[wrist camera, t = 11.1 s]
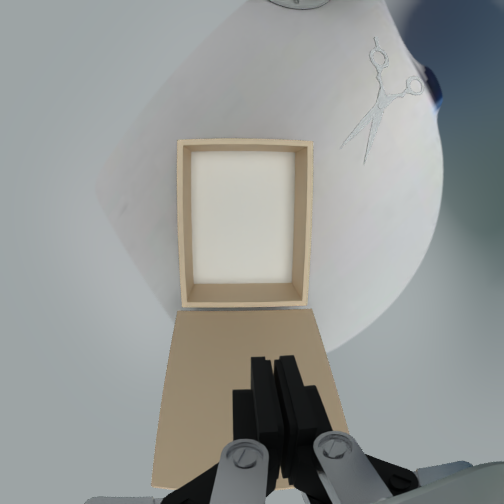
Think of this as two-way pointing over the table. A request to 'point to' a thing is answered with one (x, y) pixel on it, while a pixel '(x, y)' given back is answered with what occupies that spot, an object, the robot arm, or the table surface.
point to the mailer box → (244, 221)
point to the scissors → (380, 99)
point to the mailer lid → (228, 383)
